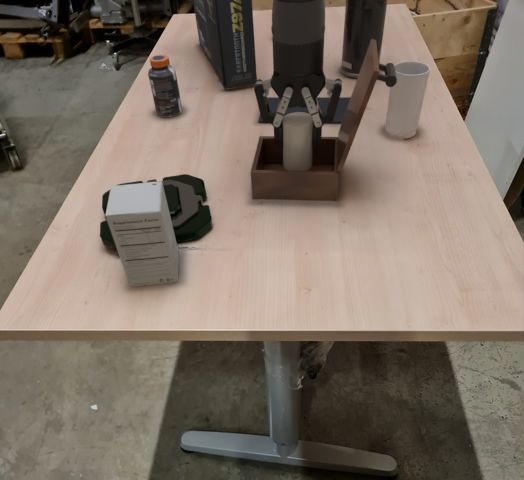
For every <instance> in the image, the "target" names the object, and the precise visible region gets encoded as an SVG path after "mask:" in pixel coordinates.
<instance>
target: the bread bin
mask: <svg viewBox="0 0 524 480" xmlns="http://www.w3.org/2000/svg"><path fill="white" fill-rule="evenodd" d="M337 154H338V136H321V143H320V145H317V148H313V163H312V167H311V168H310V169H309V170H307V171H291V170H286V169H285V168H284V167H283V148H278V145H275V142H274V135H259V137H258V141H257V144H256V149H255V153H254V157H253V161H252V165H251V169H250V185H251V196H252V197H251V198H252V200H275V201H277V200H279V201H280V200H281V201H319V202H323V201H325V202H337V201H338V190H339V180H340V171H337Z"/></svg>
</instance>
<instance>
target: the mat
mask: <svg viewBox="0 0 524 480" xmlns="http://www.w3.org/2000/svg"><path fill="white" fill-rule="evenodd" d="M350 98H351V97H340V98H339V101H338V105H337V109H336V112H335V116H334V119H333V122H332V123H331V124H342V121H343V118H344V115H345V112H346V110H347V107H348V104H349V101H350ZM267 99H268V103H269V107H270V111H271V112H273V113H276V110H277V108H278V105H279V101H280V99H279V97H267ZM317 100H318V104H319V108H320V111H321V113H324V112H326V111H327V108H328V104H329V100H330V97H317ZM294 112H304V113H308V114H310V113H309V110H308V107H307V108H302V107H298V106H297V107H293V108H288V106H287V109H286V111H285V114H284V116H285V115H287V114H290V113H294ZM284 116H283V117H284ZM257 123H258V124H264V123H263V121H262V118H261V114H260V113H259V117H258V121H257Z"/></svg>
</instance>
